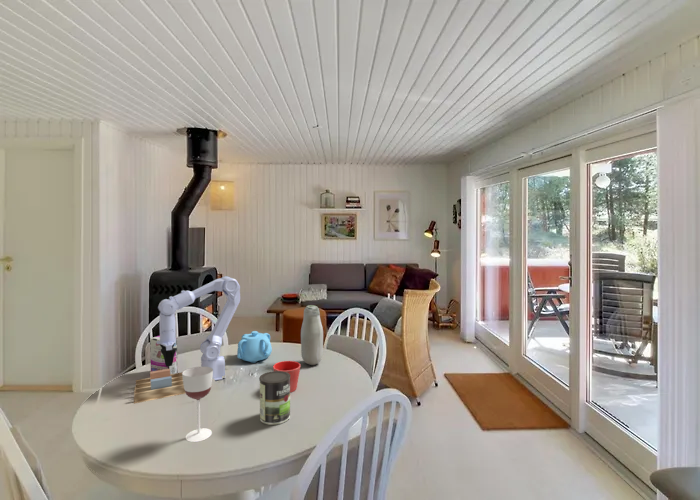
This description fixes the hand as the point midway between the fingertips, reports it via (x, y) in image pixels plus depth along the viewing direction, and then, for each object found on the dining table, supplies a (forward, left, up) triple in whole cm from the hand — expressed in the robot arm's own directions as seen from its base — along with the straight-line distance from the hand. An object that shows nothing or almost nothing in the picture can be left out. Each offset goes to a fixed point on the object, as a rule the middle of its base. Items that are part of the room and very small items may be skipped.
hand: (168, 362), depth 146 cm
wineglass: (-6, +43, -10) cm, 45 cm away
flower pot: (-41, +25, -10) cm, 49 cm away
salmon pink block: (+3, 0, -9) cm, 9 cm away
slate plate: (+3, +8, -9) cm, 13 cm away
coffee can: (-30, +44, -10) cm, 54 cm away
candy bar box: (+1, -15, -10) cm, 18 cm away
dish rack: (+3, +4, -10) cm, 11 cm away
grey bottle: (-61, +4, -10) cm, 62 cm away
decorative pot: (-39, -16, -10) cm, 43 cm away
